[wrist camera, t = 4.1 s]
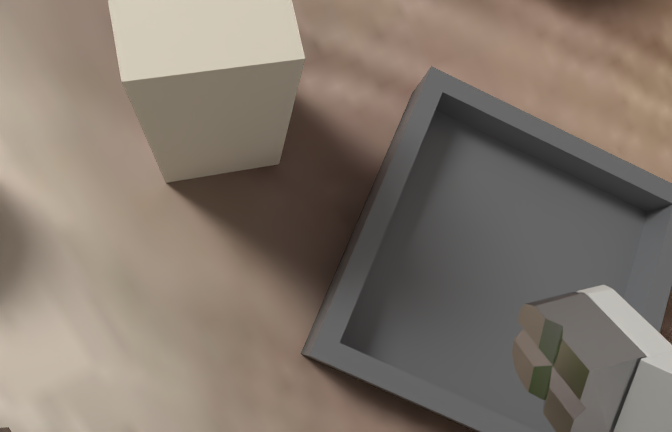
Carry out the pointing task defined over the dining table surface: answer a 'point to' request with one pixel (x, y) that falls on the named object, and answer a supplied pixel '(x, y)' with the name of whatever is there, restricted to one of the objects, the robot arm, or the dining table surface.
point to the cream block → (209, 80)
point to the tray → (484, 253)
